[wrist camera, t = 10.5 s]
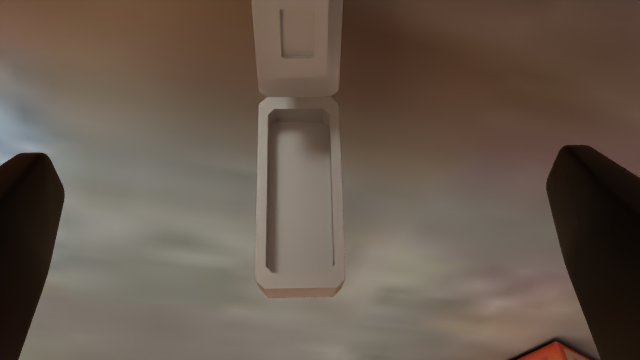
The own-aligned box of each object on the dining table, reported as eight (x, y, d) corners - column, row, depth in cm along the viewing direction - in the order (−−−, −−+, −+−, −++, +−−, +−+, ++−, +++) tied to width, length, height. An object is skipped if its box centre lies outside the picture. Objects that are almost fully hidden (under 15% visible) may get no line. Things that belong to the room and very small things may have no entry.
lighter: (257, -168, 11) (215, -22, 6) (334, -167, 11) (372, -22, 6) (272, 98, 16) (258, 321, 10) (326, 97, 16) (343, 320, 11)
